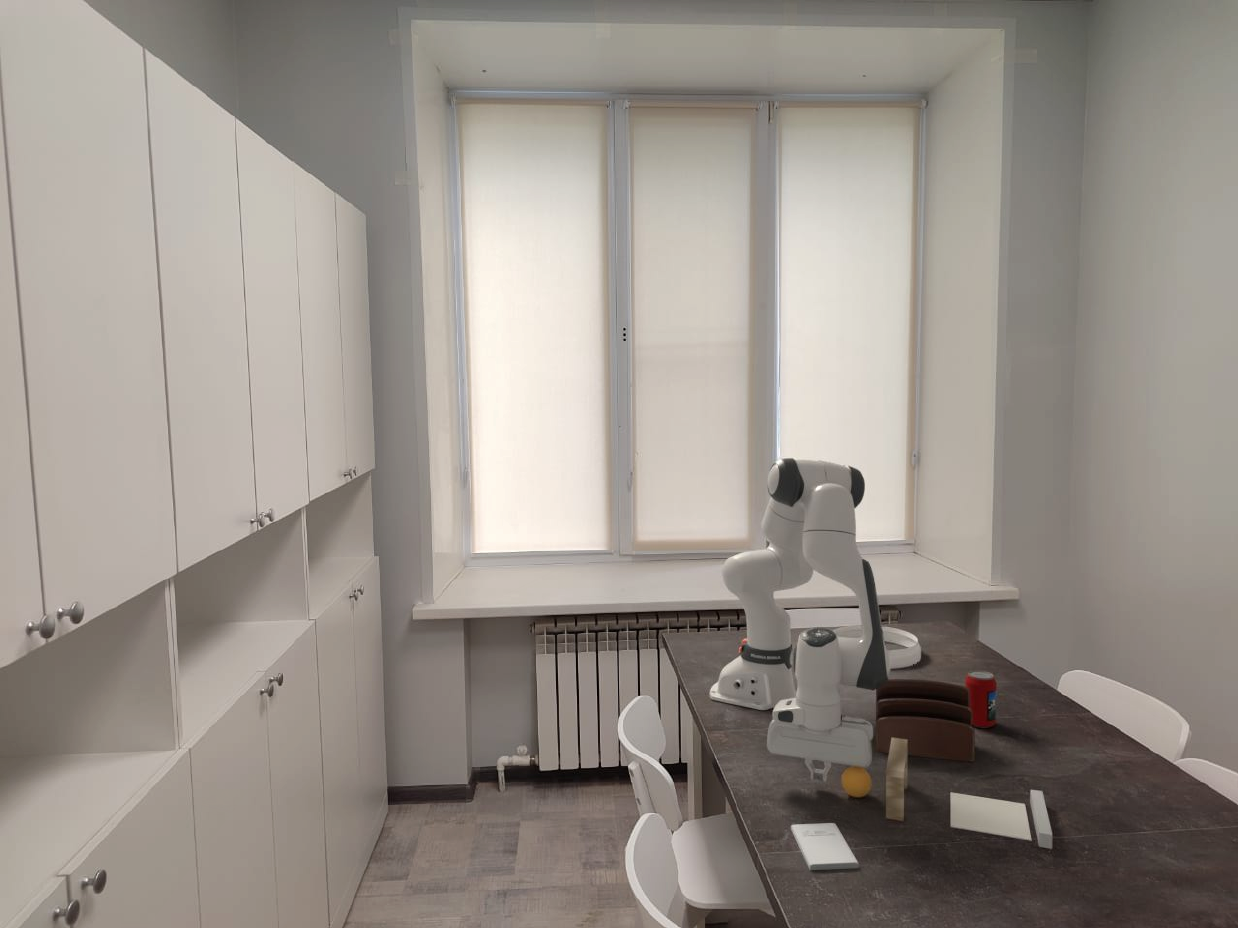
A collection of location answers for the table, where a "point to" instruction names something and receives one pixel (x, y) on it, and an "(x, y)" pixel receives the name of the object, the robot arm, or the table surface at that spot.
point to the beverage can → (982, 698)
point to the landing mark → (989, 816)
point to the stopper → (1041, 819)
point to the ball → (856, 781)
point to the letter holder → (925, 718)
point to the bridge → (896, 779)
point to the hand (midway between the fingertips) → (818, 779)
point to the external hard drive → (823, 846)
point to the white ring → (894, 636)
